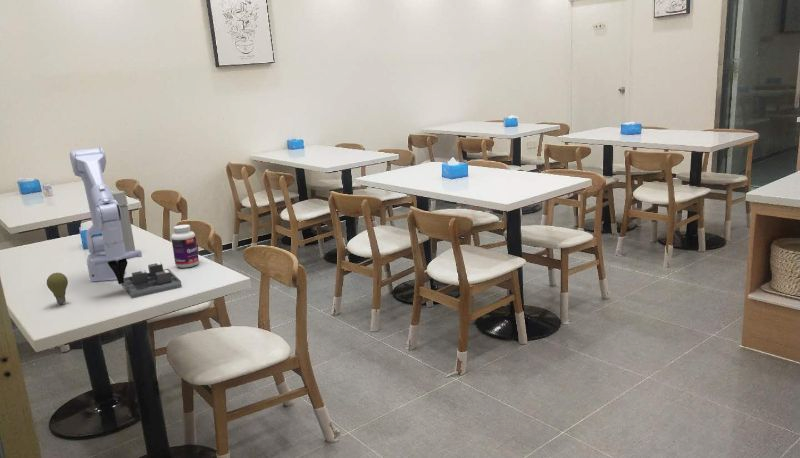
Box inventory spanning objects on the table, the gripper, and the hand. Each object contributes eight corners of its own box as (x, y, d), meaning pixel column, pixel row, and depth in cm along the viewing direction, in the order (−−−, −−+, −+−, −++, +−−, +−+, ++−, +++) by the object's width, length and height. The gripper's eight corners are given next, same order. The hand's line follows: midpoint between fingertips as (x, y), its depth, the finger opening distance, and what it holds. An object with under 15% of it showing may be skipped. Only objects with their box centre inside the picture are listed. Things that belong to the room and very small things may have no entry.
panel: (131, 298, 187) (130, 292, 187) (122, 284, 201) (121, 278, 201) (181, 286, 195) (180, 281, 195) (169, 274, 209) (168, 268, 209)
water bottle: (141, 254, 235) (130, 191, 229) (122, 260, 228) (110, 195, 222) (126, 252, 240) (115, 189, 233) (108, 257, 233) (96, 193, 227)
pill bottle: (191, 269, 213) (186, 229, 210) (171, 268, 215) (165, 229, 211) (203, 262, 221) (198, 223, 217) (183, 261, 222) (177, 223, 219)
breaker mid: (135, 287, 194) (133, 274, 193) (133, 284, 197) (131, 272, 195) (148, 284, 196) (146, 271, 195) (146, 281, 199) (144, 269, 198)
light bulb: (56, 301, 188) (50, 270, 186) (75, 300, 189) (69, 269, 186) (48, 308, 183) (41, 276, 180) (67, 306, 183) (60, 275, 181)
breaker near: (158, 287, 193) (156, 274, 192) (157, 284, 195) (155, 272, 194) (172, 284, 195) (170, 271, 194) (169, 281, 197) (167, 269, 196)
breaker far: (151, 278, 202) (149, 266, 201) (149, 276, 204) (147, 264, 203) (164, 275, 204) (162, 263, 203) (162, 273, 206) (160, 261, 205)
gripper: (89, 249, 183) (97, 291, 186) (140, 239, 190) (147, 280, 193) (86, 244, 188) (94, 285, 192) (136, 235, 196) (143, 275, 199)
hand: (121, 282), depth 193 cm, fingers closed
